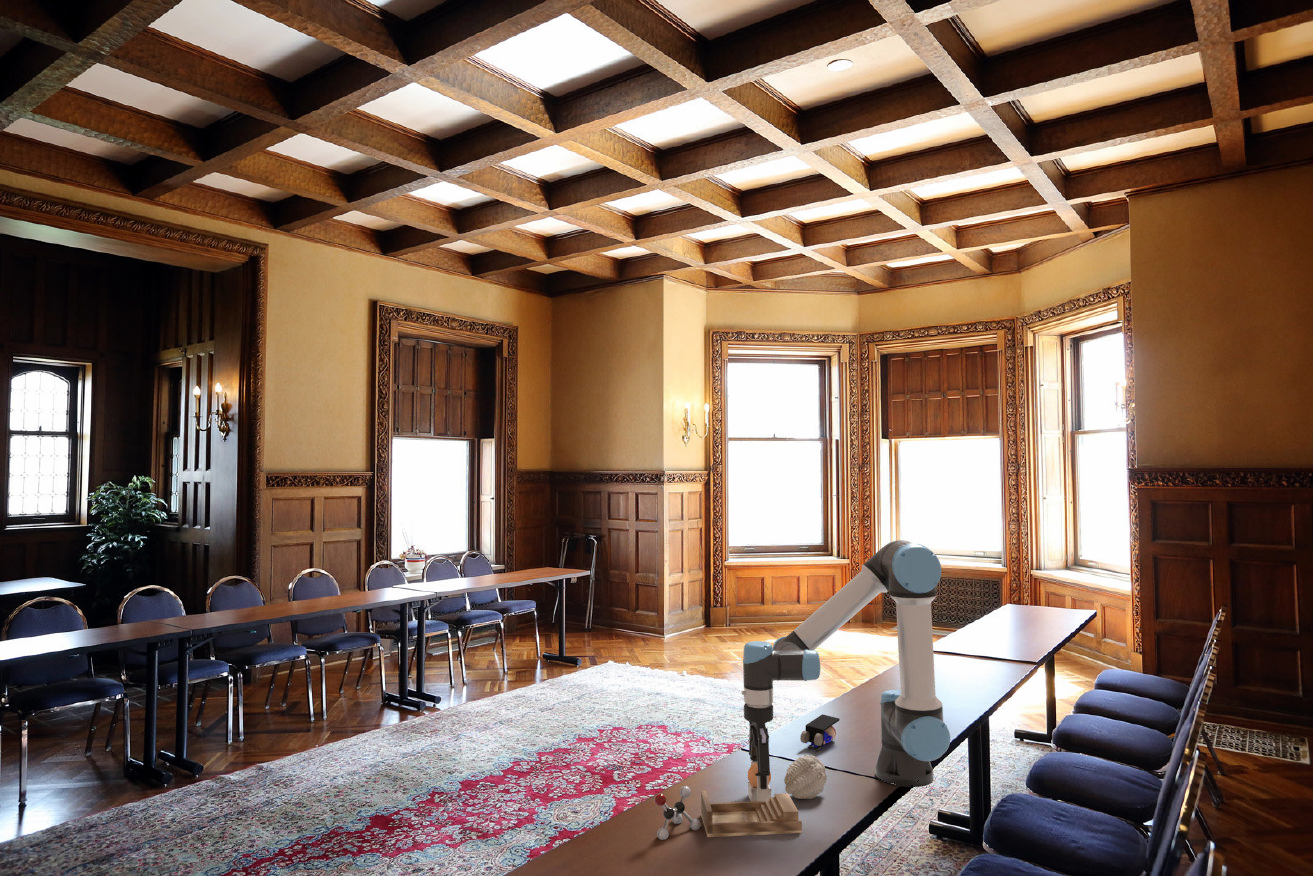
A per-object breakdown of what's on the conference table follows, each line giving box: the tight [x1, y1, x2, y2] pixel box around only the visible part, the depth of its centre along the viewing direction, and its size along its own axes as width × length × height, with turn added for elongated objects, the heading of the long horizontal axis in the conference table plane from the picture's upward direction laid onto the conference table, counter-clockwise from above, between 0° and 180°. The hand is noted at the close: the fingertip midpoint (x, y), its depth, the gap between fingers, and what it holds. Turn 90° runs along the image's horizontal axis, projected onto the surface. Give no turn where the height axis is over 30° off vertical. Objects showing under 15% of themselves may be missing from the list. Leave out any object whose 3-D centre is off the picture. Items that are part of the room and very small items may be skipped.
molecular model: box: [654, 785, 702, 841], centre depth 186 cm, size 8×12×11 cm
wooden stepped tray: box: [700, 790, 803, 838], centre depth 190 cm, size 22×12×6 cm, turn 94°
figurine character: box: [799, 714, 840, 752], centre depth 244 cm, size 7×8×15 cm
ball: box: [747, 763, 772, 788], centre depth 204 cm, size 6×6×6 cm
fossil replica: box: [783, 754, 828, 800], centre depth 206 cm, size 12×8×10 cm
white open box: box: [747, 781, 772, 802], centre depth 204 cm, size 5×5×4 cm
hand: (759, 793), depth 204 cm, fingers open, 8 cm apart
